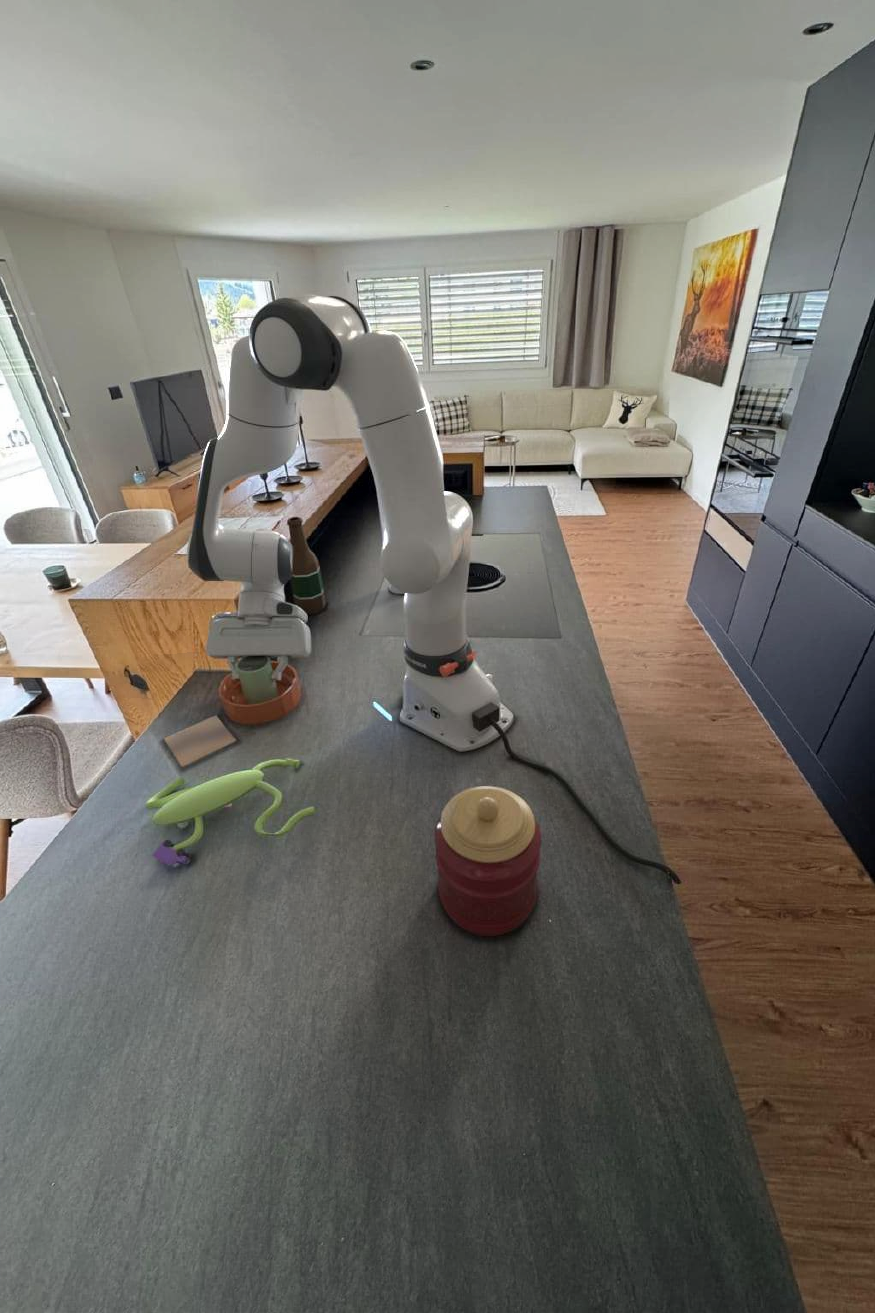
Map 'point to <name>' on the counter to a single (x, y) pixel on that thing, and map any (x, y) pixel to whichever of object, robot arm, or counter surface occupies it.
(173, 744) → the coaster
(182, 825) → the figurine
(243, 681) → the cup
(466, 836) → the kitchen canister
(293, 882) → the counter surface
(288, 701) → the bowl
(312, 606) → the beer bottle
